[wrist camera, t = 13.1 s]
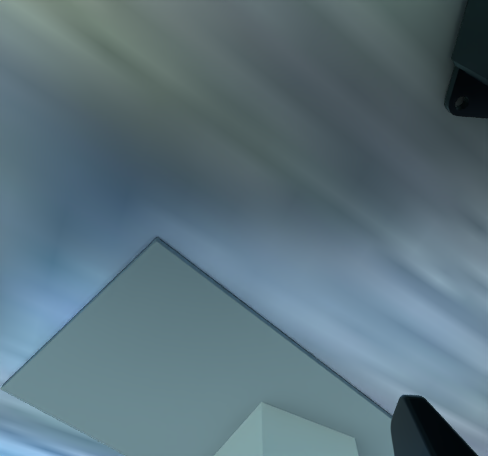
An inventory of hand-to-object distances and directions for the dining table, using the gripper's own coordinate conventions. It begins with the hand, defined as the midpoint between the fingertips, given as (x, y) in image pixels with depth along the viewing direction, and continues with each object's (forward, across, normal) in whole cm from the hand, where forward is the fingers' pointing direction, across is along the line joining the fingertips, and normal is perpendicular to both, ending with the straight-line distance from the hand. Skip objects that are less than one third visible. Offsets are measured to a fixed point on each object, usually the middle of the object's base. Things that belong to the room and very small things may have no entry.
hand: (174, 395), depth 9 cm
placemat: (+12, -2, +16) cm, 20 cm away
